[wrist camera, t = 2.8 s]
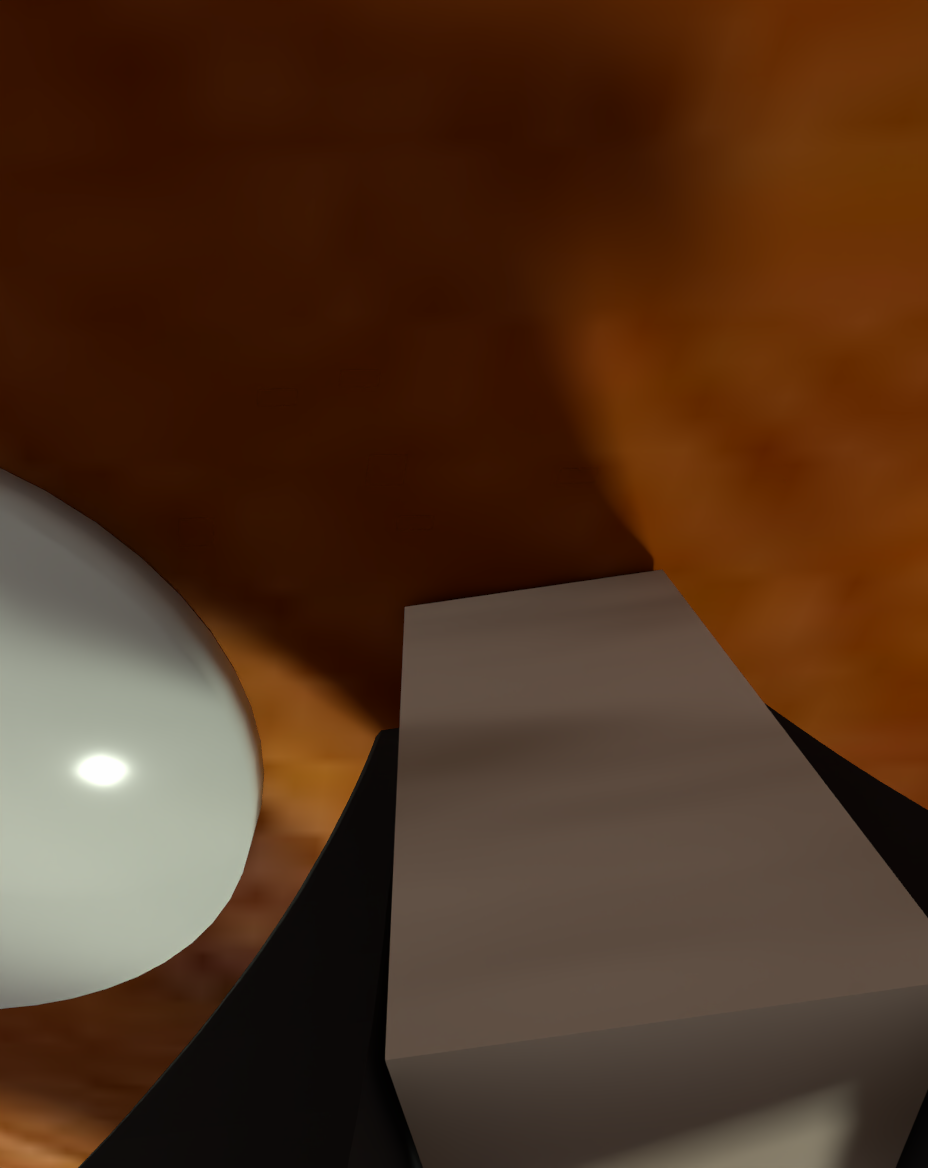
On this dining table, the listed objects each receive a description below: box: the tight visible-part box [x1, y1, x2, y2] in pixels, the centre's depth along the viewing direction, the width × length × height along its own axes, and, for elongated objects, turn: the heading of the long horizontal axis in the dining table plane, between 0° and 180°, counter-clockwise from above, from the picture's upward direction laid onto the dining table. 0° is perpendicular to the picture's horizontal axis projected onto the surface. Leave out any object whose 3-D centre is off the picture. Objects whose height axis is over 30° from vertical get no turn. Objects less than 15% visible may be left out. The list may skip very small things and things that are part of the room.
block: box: [385, 570, 928, 1168], centre depth 9 cm, size 4×4×7 cm
